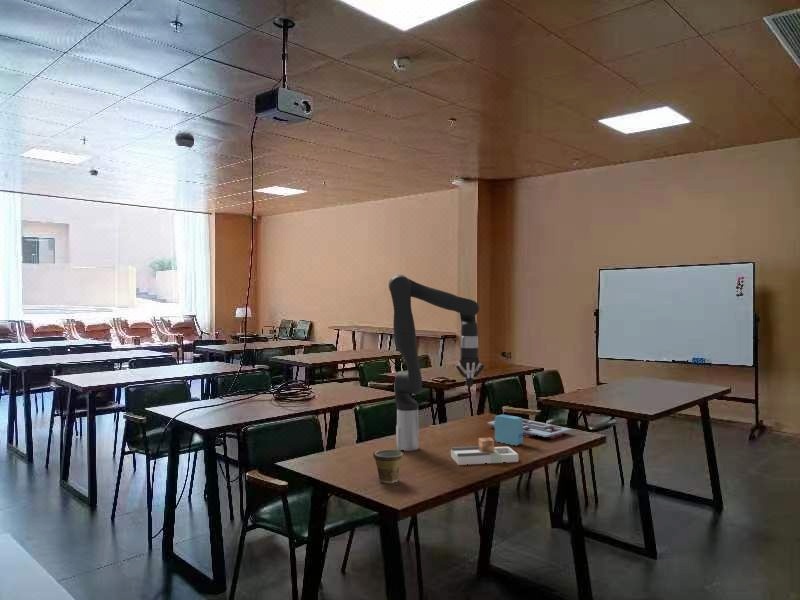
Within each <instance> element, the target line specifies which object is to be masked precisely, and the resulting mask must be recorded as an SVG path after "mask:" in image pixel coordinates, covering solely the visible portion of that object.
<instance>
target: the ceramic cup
mask: <svg viewBox="0 0 800 600" xmlns="http://www.w3.org/2000/svg"><path fill="white" fill-rule="evenodd" d="M372 455H373V459H374V460H375V465H376V468H377V469H376V470H377V474H378V475H377V476H378V479H379V482H380V481H381V482H383V483H382V484H384V483H393V484H395V483H394V482H396V483H398V481H399V474H400V468H401V467H400V466H401V464H402V460H403V459H402V458H403V452H402V451H401V450H398V449H381V450H376V451H373V454H372ZM381 482H380V483H381Z"/></svg>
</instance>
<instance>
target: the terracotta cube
mask: <svg viewBox="0 0 800 600" xmlns="http://www.w3.org/2000/svg"><path fill="white" fill-rule="evenodd" d="M478 446H479V451H480V452H490V453H494V447H495V439H493V438H492V437H479V438H478Z"/></svg>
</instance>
